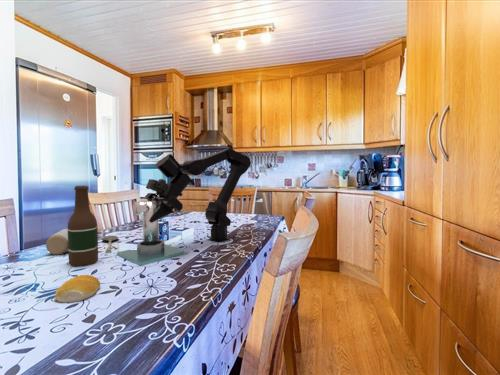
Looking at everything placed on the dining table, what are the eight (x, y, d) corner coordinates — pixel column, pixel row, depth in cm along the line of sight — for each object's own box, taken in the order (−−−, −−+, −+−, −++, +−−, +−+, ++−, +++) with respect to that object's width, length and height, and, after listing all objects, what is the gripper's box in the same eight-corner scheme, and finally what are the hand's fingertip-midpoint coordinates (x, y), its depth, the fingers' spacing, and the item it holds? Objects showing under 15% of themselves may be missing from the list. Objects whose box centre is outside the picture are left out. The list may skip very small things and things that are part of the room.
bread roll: (103, 284, 67) (103, 269, 67) (91, 301, 58) (90, 283, 58) (66, 288, 65) (66, 271, 65) (47, 305, 56) (47, 287, 56)
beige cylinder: (44, 256, 89) (43, 233, 89) (57, 249, 97) (56, 228, 97) (78, 255, 91) (78, 232, 91) (88, 248, 99) (88, 228, 99)
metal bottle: (155, 236, 94) (154, 199, 94) (161, 239, 91) (160, 200, 90) (133, 240, 89) (132, 201, 88) (139, 243, 86) (138, 202, 85)
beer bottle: (84, 268, 78) (81, 186, 77) (62, 266, 80) (59, 186, 78) (104, 259, 86) (101, 185, 84) (83, 258, 87) (81, 185, 86)
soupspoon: (119, 240, 114) (102, 243, 112) (119, 232, 114) (101, 235, 112) (118, 252, 95) (97, 255, 92) (117, 242, 94) (96, 246, 92)
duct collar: (159, 245, 102) (159, 235, 102) (184, 253, 92) (184, 242, 92) (117, 255, 90) (116, 243, 90) (140, 265, 80) (140, 252, 80)
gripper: (149, 171, 99) (119, 203, 92) (173, 170, 86) (140, 208, 79) (169, 191, 105) (142, 222, 98) (195, 193, 91) (165, 230, 84)
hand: (146, 220), depth 90 cm, fingers closed on metal bottle, 5 cm apart
